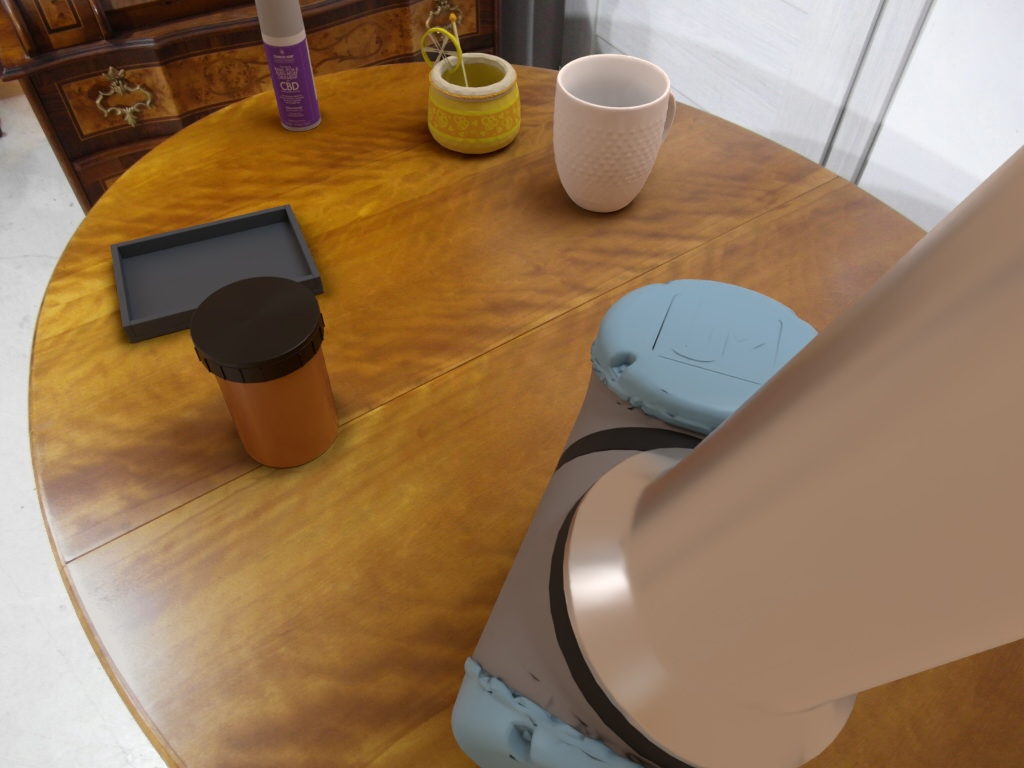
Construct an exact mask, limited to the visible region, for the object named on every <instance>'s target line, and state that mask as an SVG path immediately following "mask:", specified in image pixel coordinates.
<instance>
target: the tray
mask: <svg viewBox="0 0 1024 768" xmlns="http://www.w3.org/2000/svg"><path fill="white" fill-rule="evenodd" d="M109 249H110V254H111V260H112V268H113V272H114V278H115V279H114V280H115V285H116V291H117V298H118V304H119V310H120V311H119V312H120V317H121V324H122V328H123V331H124V332H125V334H126V336H127V339H128V340H129V342H130V343H131V344H134V343H138V342H141V341H145V340H149V339H152V338H157V337H160V336H163V335H164V336H165V335H168V334H171V333H172V334H173V333H176V332H179V331H182V330H186V329H190V323H191V319H192V317H193V314H194V312H195V311H196V309H197V308H198V306H199V305H200V304H201V303H202V302H203V301H204V300H205V299H206V298H207V297H208V296H209V295H211V294H212V293H214V292H215V291H217V290H218V289H220V288H222V287H224V286H226V285H228V284H231V283H234V282H236V281H240V280H243V279H248V278H253V277H265V276H270V277H281V278H286V279H290V280H293V281H296V282H298V283H300V284H302V285H304V286H305V287H307V288H308V289H309V290H310V291H311V292H312V293H313V294H314V296H316V295H319V294H323V293H324V292H325V291H324V287H323V281H322V277H321V274H320V271H319V270H318V267H317V265H316V262H315V260H314V258H313V255H312V252H311V250H310V248H309V246H308V244H307V241H306V239H305V237H304V234H303V232H302V229H301V227H300V225H299V222H298V219H297V218H296V215H295V212H294V211H293V208H292V206H291V204H290V203H288V204H283V205H278V206H275V207H270V208H266V209H262V210H257V211H252V212H247V213H244V214H240V215H235V216H230V217H226V218H221V219H218V220H217V219H216V220H213V221H209V222H206V223H205V222H204V223H201V224H195V225H192V226H187V227H183V228H178V229H174V230H170V231H165V232H161V233H156V234H152V235H147V236H143V237H139V238H134V239H130V240H126V241H122V242H117V243H113V244H110V245H109Z"/></svg>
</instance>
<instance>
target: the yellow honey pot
mask: <svg viewBox="0 0 1024 768" xmlns="http://www.w3.org/2000/svg"><path fill="white" fill-rule="evenodd" d="M457 19H458V18H457V16H456V14H455V13H454V12H451V13H450V14H449V17H448V20H449V21H450V22H451V25H452V29H453V34H454V35H453V34H452V33H450V32H449V31H448V30H446V29H445V28H442V27H432V28H429V29H428V30H427V31H426V32H425V33H424V34H423V35H422V36H421V40H420V52H421V55H422V58H423V60H424V62H425V63H426V64H427V65H428V66H429V67H430V71H429V73H428V80H429V83H430V85H429V89H428V91H429V92H428V101H427V125H428V126H427V127H428V130H429V132H430V134H431V136H432V138H433V139H434V140H435V141H436V142H437V143H438V144H439V145H440V146H442V147H443V148H445V149H448V150H450V151H453V152H458V153H461V154H465V155H466V154H467V155H483V154H488V153H493V152H495V151H498V150H500V149H503V148H505V147H507V146H508V145H510V144H511V143H512V142H513V141H514V140H515V139H516V137H517V136H518V134H519V131H520V130H521V129H520V128H521V122H522V121H521V120H522V117H521V113H522V106H521V97H520V90H519V86H518V83H517V82H518V81H517V80H518V73H517V71H516V70H515V68H514V67H513V66H512V65H511V63H509V62H508V61H507V60H505V59H503V58H501V57H499V56H497V55H493V54H488V53H482V52H465V53H463V51H462V48H461V44H460V39H459V34H458V33H459V32H458V28H457V23H456V21H457ZM435 32H437V33H441V34H443V35H444V39H443V41H442V44H441V45H440V43H439V41H438V39H437V37H436V35H435ZM428 36H429V39H431V41H432V43H433V44H434V45H435V47H436V48H434V47H430V46H427V45H426V39H427V37H428ZM449 40H450V41H451V42H452V43H453V45H454V47H455V49H456V51H455V50H444V49H445V47H446V45H447V43H448V42H449ZM427 52H428V53H438V56H437V57H436V59H435V61H434V62H432V61H431V60H430V58H429V56H428V54H427ZM446 55H448V56H446ZM441 58H442V60H441Z"/></svg>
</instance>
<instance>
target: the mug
mask: <svg viewBox="0 0 1024 768" xmlns="http://www.w3.org/2000/svg"><path fill="white" fill-rule="evenodd" d="M676 110H677V100H676V96H675V94H674V92H673V91H672V90H671V80H670V77H669V75H668V74H667V72H665V70H664V69H662V68H661V67H660V66H658V65H656V64H654V63H652V62H650V61H648V60H646V59H642V58H639V57H636V56H632V55H627V54H619V53H617V54H616V53H600V54H598V53H597V54H590V55H585V56H582V57H581V56H580V57H579V58H576V59H574V60H571V61H570V62H567V64H565V65H564V66H563V67H561V69H560V70H559V72H558V73H557V75H556V82H555V96H554V112H553V125H552V127H553V130H552V133H553V137H552V142H553V153H554V161H555V165H556V171H557V174H558V176H559V180H560V183H561V184H562V187H563V189H564V191H565V192H566V194H567V196H568V197H569V198H570V199H571V200H572V202H574V204H576V205H577V206H578V207H579V208H581V209H584V210H586V211H589V212H595V213H612V212H616V211H619V210H622V209H624V208H625V207H626V206H628V205H629V204H630V203H632V201H634V200H635V198H636V197H637V195H638V194H639V193H640V192H641V191H642V189H643V188H644V186H645V184H646V183H647V181H648V179H649V176H650V175H651V173H652V170H653V167H654V165H655V163H656V159H657V156H658V154H659V152H660V148H661V147H662V145H663V143H664V142H665V141H666V139H667V137H668V135H669V133H670V132H671V129H672V126H673V123H674V120H675V118H676V117H675V116H676Z"/></svg>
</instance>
